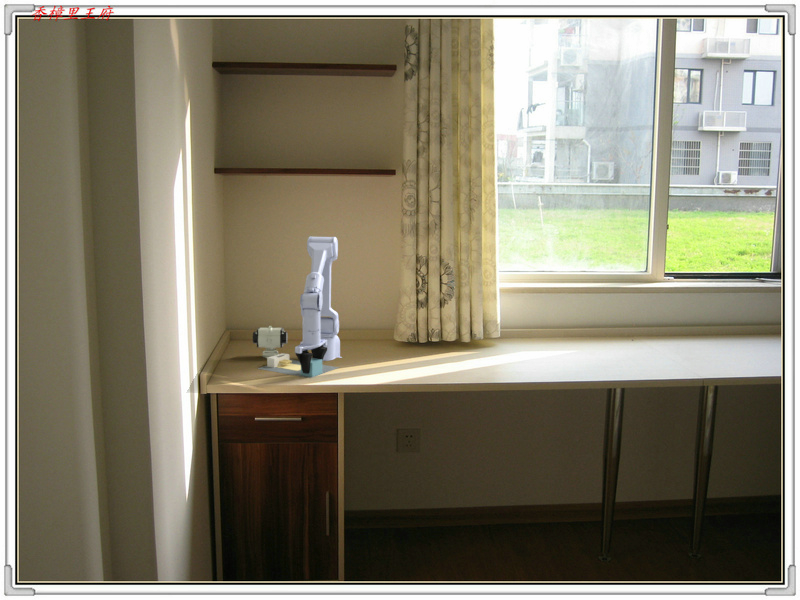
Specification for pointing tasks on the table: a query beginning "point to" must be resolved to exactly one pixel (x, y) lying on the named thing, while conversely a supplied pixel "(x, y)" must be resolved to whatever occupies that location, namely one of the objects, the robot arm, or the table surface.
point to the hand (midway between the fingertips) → (311, 371)
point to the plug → (314, 368)
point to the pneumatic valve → (270, 339)
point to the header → (278, 360)
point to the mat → (295, 368)
